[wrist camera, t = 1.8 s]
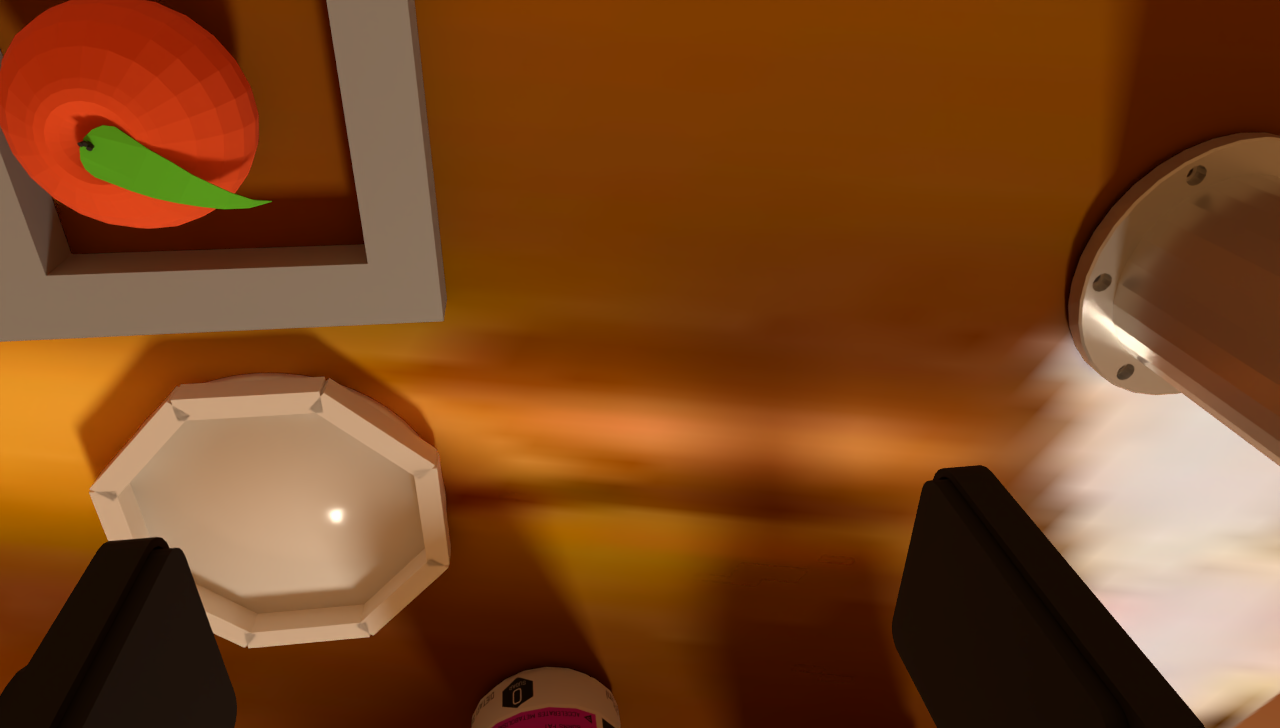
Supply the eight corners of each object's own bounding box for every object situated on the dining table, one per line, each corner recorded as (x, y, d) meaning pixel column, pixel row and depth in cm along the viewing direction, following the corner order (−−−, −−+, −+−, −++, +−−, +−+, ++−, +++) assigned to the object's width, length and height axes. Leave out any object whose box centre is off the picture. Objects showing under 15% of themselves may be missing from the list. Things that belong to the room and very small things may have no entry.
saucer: (429, 364, 35) (426, 385, 34) (459, 601, 42) (457, 628, 41) (75, 382, 33) (54, 406, 32) (168, 627, 40) (154, 657, 39)
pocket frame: (396, -164, 26) (388, -168, 24) (446, 299, 34) (443, 321, 32) (-175, -180, 24) (-228, -186, 22) (22, 317, 32) (-6, 342, 30)
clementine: (343, 79, 29) (300, 129, 23) (264, 237, 32) (206, 320, 25) (102, -64, 26) (-22, -49, 20) (34, 123, 28) (-94, 187, 22)
